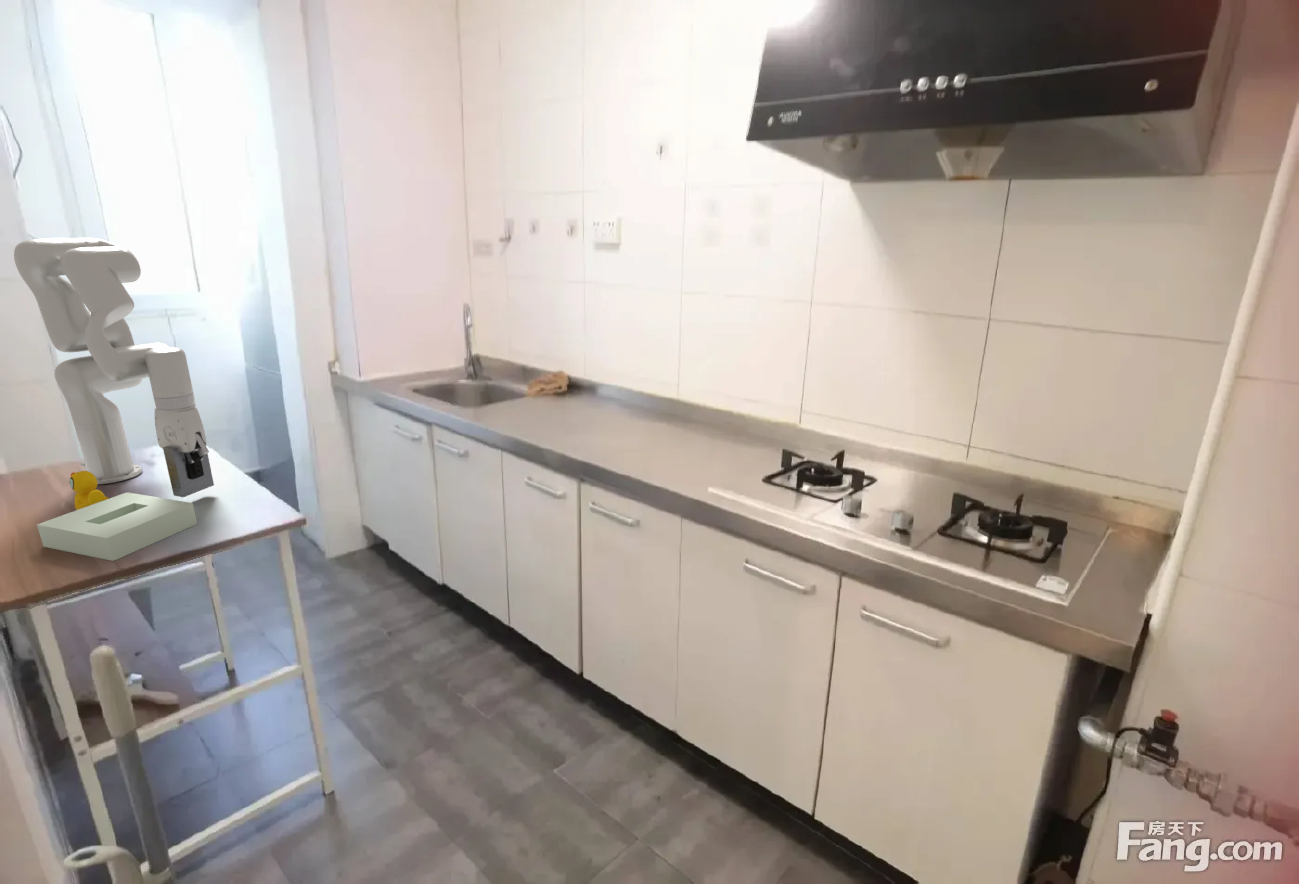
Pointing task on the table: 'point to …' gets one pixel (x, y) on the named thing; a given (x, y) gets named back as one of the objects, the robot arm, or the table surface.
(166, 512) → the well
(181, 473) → the brushed metal pillar
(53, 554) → the table surface
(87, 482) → the duckling
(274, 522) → the table surface
